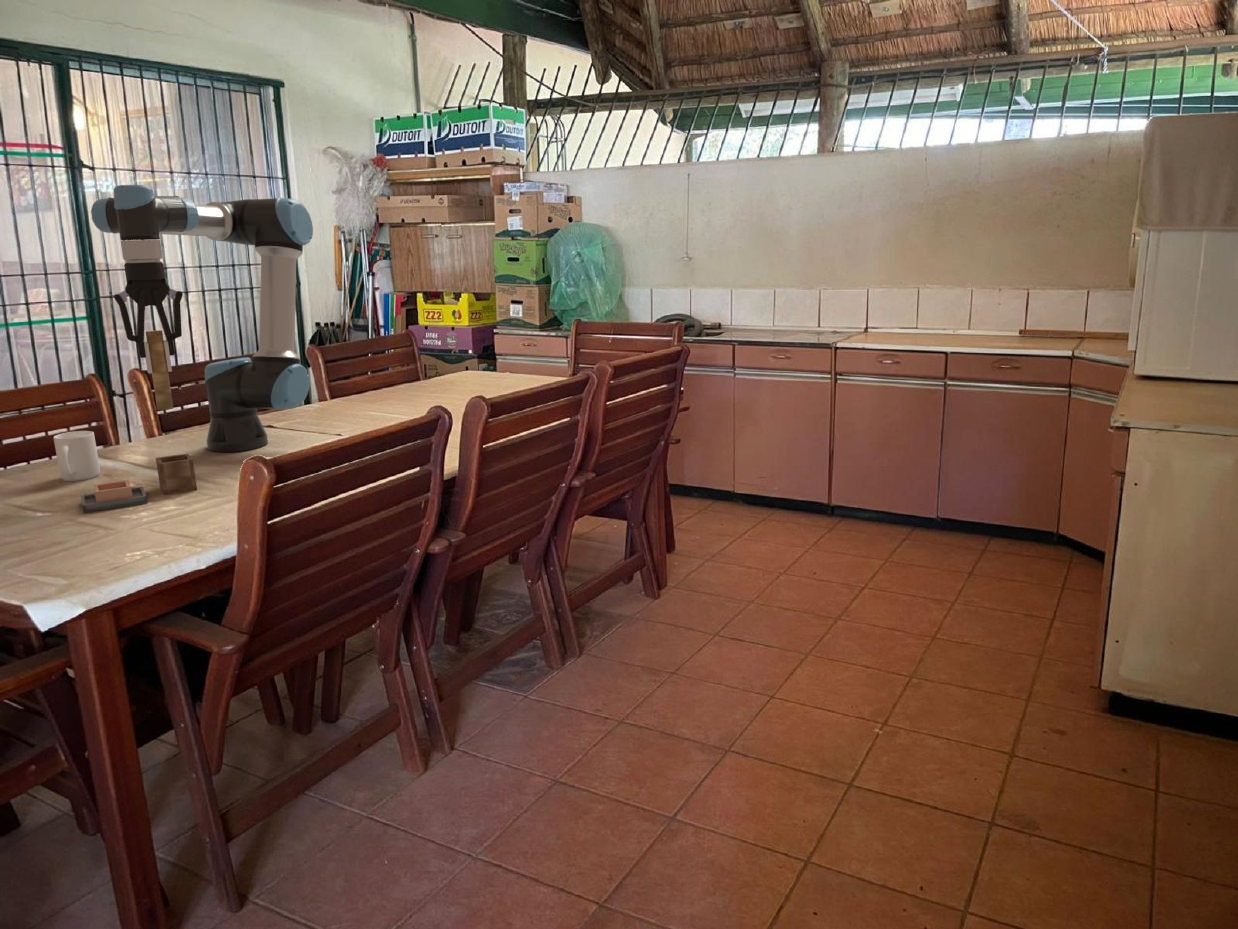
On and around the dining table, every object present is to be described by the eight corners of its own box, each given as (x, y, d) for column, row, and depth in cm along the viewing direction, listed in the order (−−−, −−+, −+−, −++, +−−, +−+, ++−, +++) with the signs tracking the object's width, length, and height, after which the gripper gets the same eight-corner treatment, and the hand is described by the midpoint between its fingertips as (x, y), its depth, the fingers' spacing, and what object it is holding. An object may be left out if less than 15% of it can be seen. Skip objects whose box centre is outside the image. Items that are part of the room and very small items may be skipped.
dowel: (172, 406, 205) (161, 330, 200) (174, 409, 202) (162, 331, 198) (156, 408, 203) (144, 331, 199) (158, 410, 200) (146, 332, 196)
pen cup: (192, 482, 212) (188, 453, 210) (197, 489, 206) (192, 459, 205) (160, 487, 209) (155, 457, 207) (163, 494, 203) (159, 464, 201)
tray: (143, 493, 204) (142, 486, 204) (147, 503, 197) (146, 496, 197) (81, 502, 198) (80, 495, 198) (83, 513, 191) (82, 505, 191)
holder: (130, 493, 202) (128, 479, 201) (133, 500, 196) (131, 486, 196) (95, 498, 199) (93, 484, 198) (97, 506, 193) (94, 492, 192)
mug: (85, 484, 213) (77, 441, 210) (47, 486, 212) (39, 443, 209) (106, 471, 224) (99, 430, 221) (70, 473, 223) (62, 431, 220)
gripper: (182, 259, 202) (197, 366, 208) (98, 262, 194) (116, 373, 200) (187, 260, 196) (202, 370, 201) (101, 263, 187) (119, 377, 193)
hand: (159, 371), depth 200 cm, fingers closed on dowel, 3 cm apart
